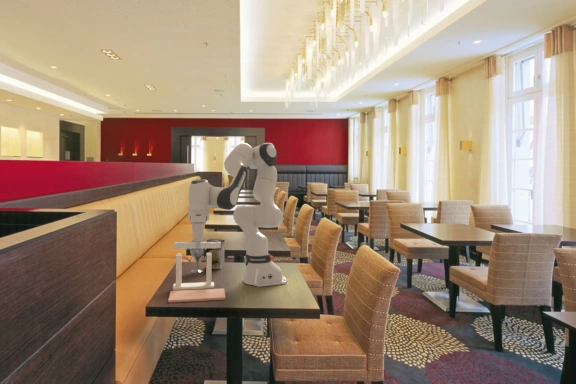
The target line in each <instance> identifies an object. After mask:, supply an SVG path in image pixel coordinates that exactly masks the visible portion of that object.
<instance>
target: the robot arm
mask: <svg viewBox="0 0 576 384" xmlns="http://www.w3.org/2000/svg"><path fill="white" fill-rule="evenodd" d="M277 157H278V151H277V148H276V147H275V145H274V144H273V143H272V142H265V143H261V144H259V145H256V146H255V147H253V146H251V145H250V144H248V143H246V142H241V143H238V145H236V146H235V147H234V148H233V149H232V150H231V151H230V153H229V154H227V156H226V157H225V160H224V162H223V166H224V170H225V171H226V173H227V174H228V175H229V176H230V177H233V178H232V180H231V182H230V184H229V185H228V186H224V187H222V186H214V185H212V184H210V183H209V180H207V179H204V178H203V179H202V178H201V179H194V180H192V181H190V184H189V188H188V207H187V208H188V212H187V213H188V215H187V217H188V219H187V220H188V221H189V222H190V223H191V224H190V225H191V229H192V239H193V242H196V248H200V242H202V241H203V238H204V232H205V231H204V230H205V225H206V223H207V222H208V221H209V219H210V208H213V209H221V210H227V211H231V210H232V209H234V208H235V207H236V208H235V209H234V211H233V219H234V222H235V223H236V225H238V226H239V227H240V229H241V230H242V232H243V234H244V238H245V248H246V249H245V250H246V251H245V252H246V253H245V257H244V264H245V265H244V266H245V268H244V275H243V278H242V280H241V281H242V282H243V283H244V284H247V285H251V286H254V287H260V288H261V287H268V286H270V287H271V286H277V285H285V284H287V278H286V276H284V275H283V270H282V269H281V267H280V266H279V265H277V263H275V262H273V261H274V258H275V257H274V256H273V255H272V254H271V253H269V240H268V238H267V236H266V235H265V234H263V233H262V232H261V231H260V229H259V228H265V229H266V228H267V229H271V228H278V227H280V226H281V224H282V222H283V220H284V219H283V218H284V217H283V216H284V215H283V212H282V210H281V208H280V207H278V205H277V204H276V202H275V199H274V198H275V191H276V187H277V181H278V180H277V179H278V170H277V168H276V167H275V166H274V165H276V163H277ZM248 170H249V171H255V170H257V175H256V179H255V182H254V185H253V191H252V195H253V198H254V199H255V200H256V201H258V202H259V203H260V204H258V205H257V204H256V205H255V204H244V205H243V204H242V205H239V206H236V205H238V200H239V197H240V194H241V191H242V190H243V187H244V185H245V183H246V180H247V177H248V173H249V172H248Z"/></svg>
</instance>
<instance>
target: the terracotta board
mask: <svg viewBox="0 0 576 384" xmlns="http://www.w3.org/2000/svg"><path fill="white" fill-rule="evenodd" d="M226 299H227V298H226V291H225V288H223V287H222V288H208V289H186V290H170V293H169V296H168V299H167V302H168V303H169V304H170V303H183V302H186V303H189V302H203V301H204V302H205V301H206V302H207V301H224V300H226Z"/></svg>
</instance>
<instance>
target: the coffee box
mask: <svg viewBox="0 0 576 384" xmlns="http://www.w3.org/2000/svg"><path fill="white" fill-rule="evenodd" d="M206 242H221V248H205V250H206V251H205V254H206V255H205V257H206V258H205V265H206V264H207V253H212V269H214V270H215V269H216V270H221V269H223V268H224V267H225V249H226V246H225V245H226V240H225V239H223V238H221V239H220V238H209V239H207V240H206Z"/></svg>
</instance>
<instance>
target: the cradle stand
mask: <svg viewBox="0 0 576 384" xmlns="http://www.w3.org/2000/svg"><path fill="white" fill-rule="evenodd" d="M182 260H183V254H182V253H176V255H175V283H173V284H172V291H179V290H201V289H215V282H214V281H212V253H207V264H206V263H205V268H206V270H205V272H206V273H205V274H206V277H205V280H206V281H205V282H204V281H203V282H201V281H200V282H199V281H198V282H182V281H183V280H182V277H183V276H182V269H183V268H182V266H183V265H182V262H183V261H182Z"/></svg>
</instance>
